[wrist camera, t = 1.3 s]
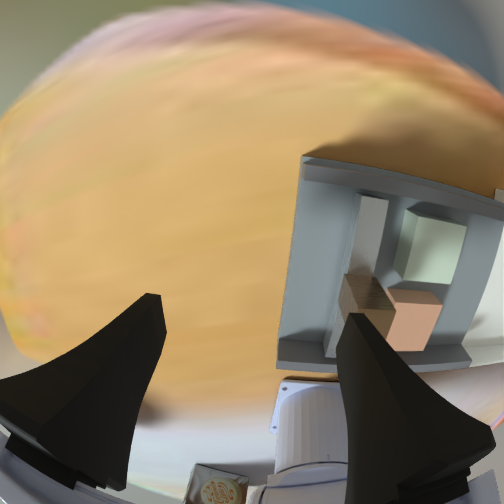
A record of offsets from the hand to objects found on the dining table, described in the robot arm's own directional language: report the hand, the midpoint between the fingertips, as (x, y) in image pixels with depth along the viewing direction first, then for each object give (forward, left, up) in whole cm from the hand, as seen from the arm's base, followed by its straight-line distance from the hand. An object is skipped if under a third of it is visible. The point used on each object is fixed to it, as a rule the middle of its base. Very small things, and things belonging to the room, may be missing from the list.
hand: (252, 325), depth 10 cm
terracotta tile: (-4, -11, -8) cm, 14 cm away
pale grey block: (-1, -6, -7) cm, 9 cm away
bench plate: (-1, -10, -10) cm, 14 cm away
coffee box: (-41, +3, -10) cm, 42 cm away
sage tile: (+2, -11, -8) cm, 13 cm away
